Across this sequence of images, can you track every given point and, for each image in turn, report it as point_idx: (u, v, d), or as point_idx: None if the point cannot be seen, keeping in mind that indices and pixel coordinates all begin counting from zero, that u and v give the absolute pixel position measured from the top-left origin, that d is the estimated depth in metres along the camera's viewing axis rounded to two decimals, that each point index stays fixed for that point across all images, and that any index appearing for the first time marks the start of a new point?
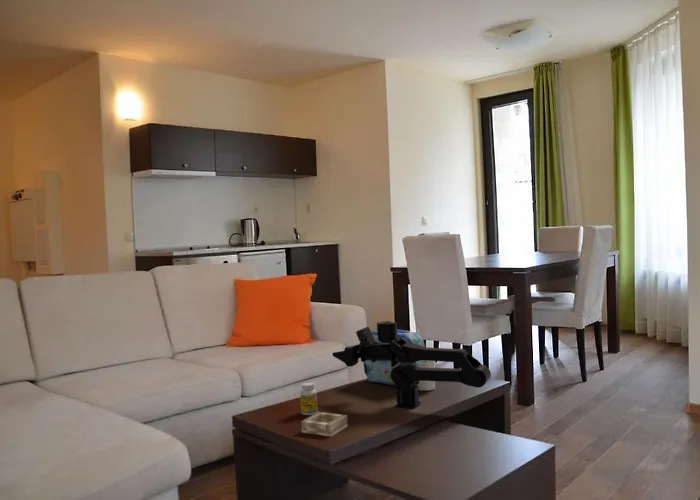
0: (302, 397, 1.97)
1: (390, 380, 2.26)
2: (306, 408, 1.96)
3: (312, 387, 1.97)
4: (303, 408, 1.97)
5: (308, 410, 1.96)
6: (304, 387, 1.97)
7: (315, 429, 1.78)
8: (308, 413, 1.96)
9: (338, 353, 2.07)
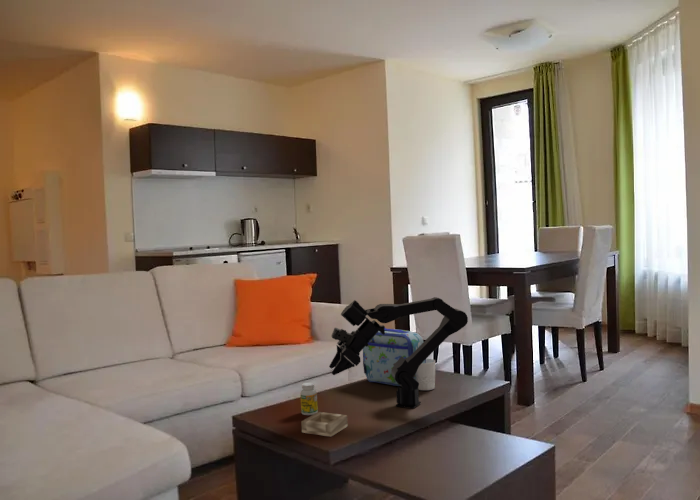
0: (302, 397, 1.97)
1: (390, 380, 2.26)
2: (306, 408, 1.96)
3: (312, 387, 1.97)
4: (303, 408, 1.97)
5: (308, 410, 1.96)
6: (304, 387, 1.97)
7: (315, 429, 1.78)
8: (308, 413, 1.96)
9: (337, 367, 1.94)
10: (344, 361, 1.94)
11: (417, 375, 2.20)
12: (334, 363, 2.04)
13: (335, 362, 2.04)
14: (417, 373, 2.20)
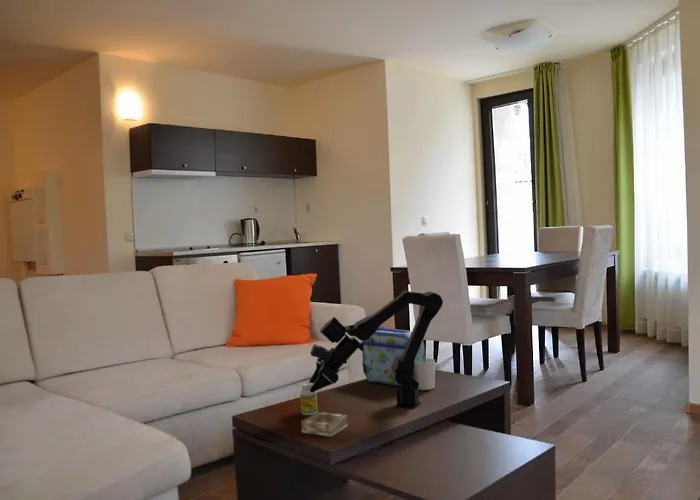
0: (302, 397, 1.97)
1: (390, 380, 2.26)
2: (306, 408, 1.96)
3: None
4: (303, 408, 1.97)
5: (308, 410, 1.96)
6: (304, 387, 1.97)
7: (315, 429, 1.78)
8: (308, 413, 1.96)
9: (315, 384, 1.93)
10: (322, 378, 1.93)
11: (417, 375, 2.20)
12: (313, 380, 2.03)
13: (314, 379, 2.03)
14: (417, 373, 2.20)
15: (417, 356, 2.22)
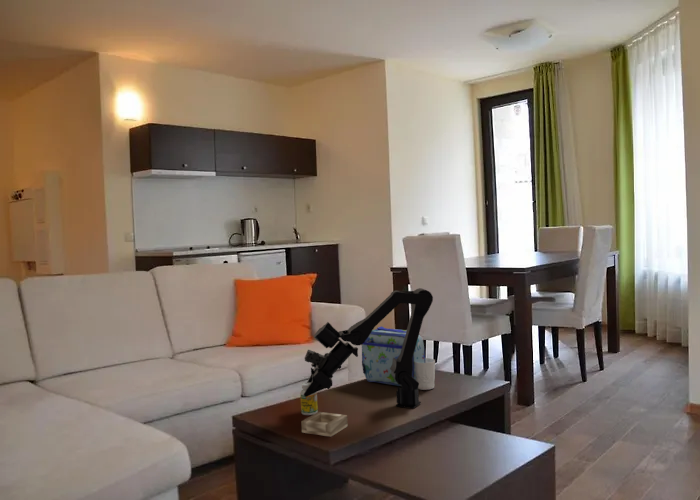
0: (302, 397, 1.97)
1: (389, 380, 2.27)
2: (306, 408, 1.96)
3: None
4: (303, 408, 1.97)
5: (308, 410, 1.96)
6: (304, 387, 1.97)
7: (315, 429, 1.78)
8: (308, 413, 1.96)
9: (309, 388, 1.95)
10: (316, 383, 1.95)
11: (417, 374, 2.21)
12: None
13: None
14: (417, 373, 2.21)
15: (417, 356, 2.22)
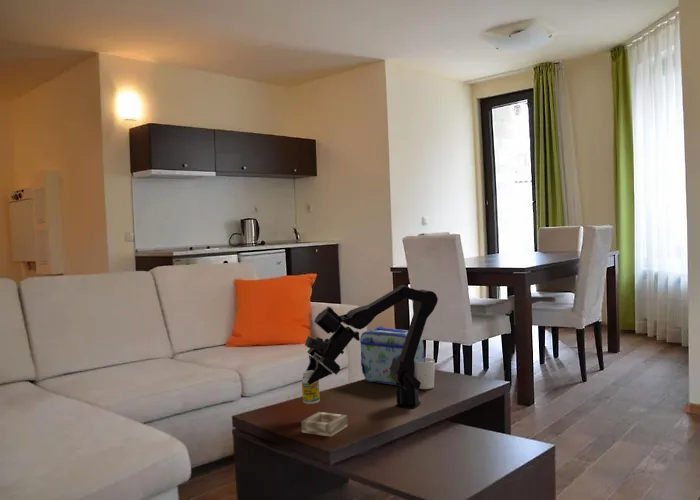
0: (305, 385, 1.89)
1: (389, 379, 2.27)
2: (309, 396, 1.89)
3: None
4: (306, 397, 1.89)
5: (311, 398, 1.89)
6: (307, 375, 1.90)
7: (315, 429, 1.78)
8: (312, 401, 1.89)
9: (313, 375, 1.88)
10: (320, 369, 1.88)
11: (417, 374, 2.21)
12: None
13: None
14: (417, 372, 2.21)
15: (417, 355, 2.23)
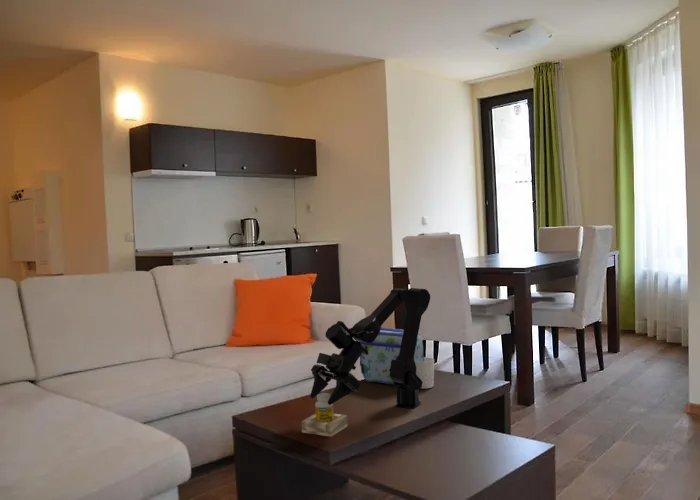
0: (321, 410, 1.79)
1: (389, 379, 2.28)
2: (326, 421, 1.79)
3: None
4: None
5: None
6: (323, 398, 1.80)
7: (315, 429, 1.78)
8: None
9: (334, 395, 1.77)
10: (341, 388, 1.78)
11: (417, 374, 2.22)
12: (314, 392, 1.85)
13: (316, 391, 1.85)
14: (417, 372, 2.22)
15: (416, 355, 2.24)
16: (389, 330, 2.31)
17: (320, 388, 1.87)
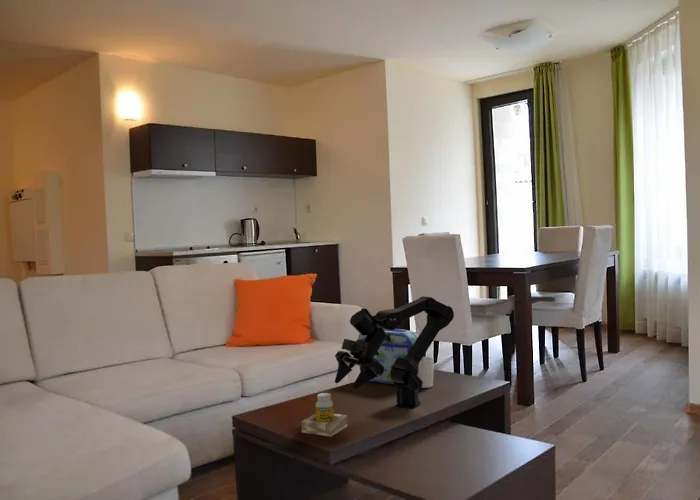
0: (321, 409, 1.79)
1: (388, 379, 2.28)
2: (327, 421, 1.79)
3: (330, 397, 1.81)
4: (323, 421, 1.79)
5: None
6: (323, 398, 1.80)
7: (315, 429, 1.78)
8: None
9: (359, 380, 1.83)
10: (365, 373, 1.84)
11: None
12: (339, 377, 1.91)
13: (340, 376, 1.91)
14: None
15: None
16: (388, 330, 2.32)
17: (344, 373, 1.92)
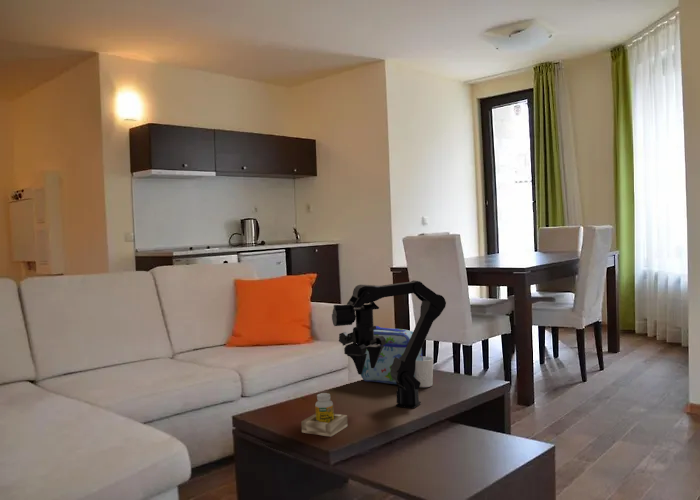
0: (321, 410, 1.79)
1: (388, 378, 2.29)
2: (327, 421, 1.79)
3: (330, 397, 1.81)
4: None
5: None
6: (323, 398, 1.80)
7: (315, 429, 1.78)
8: None
9: (356, 366, 1.93)
10: (357, 357, 1.93)
11: (416, 373, 2.24)
12: (372, 362, 2.02)
13: (372, 360, 2.02)
14: (416, 371, 2.24)
15: None
16: (387, 330, 2.32)
17: (375, 356, 2.02)
